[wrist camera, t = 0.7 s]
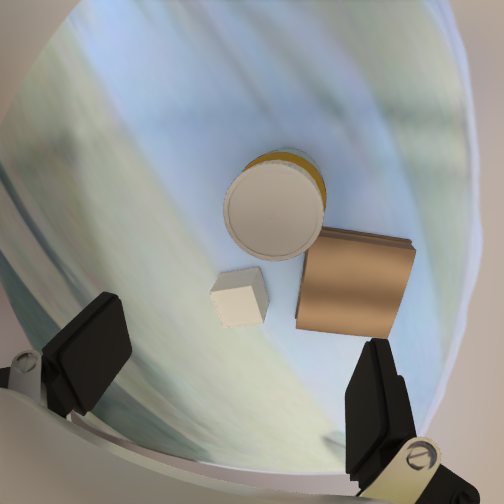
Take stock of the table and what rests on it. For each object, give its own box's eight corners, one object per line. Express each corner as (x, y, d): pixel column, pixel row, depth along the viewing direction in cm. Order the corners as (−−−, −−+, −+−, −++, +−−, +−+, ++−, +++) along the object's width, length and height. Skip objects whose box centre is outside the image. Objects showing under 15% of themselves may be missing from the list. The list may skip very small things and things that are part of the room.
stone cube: (221, 272, 37) (209, 292, 32) (259, 266, 36) (251, 285, 31) (233, 305, 39) (223, 327, 34) (269, 300, 37) (263, 323, 33)
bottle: (332, 190, 30) (351, 233, 17) (280, 221, 33) (257, 285, 19) (297, 136, 29) (288, 132, 15) (245, 170, 31) (194, 198, 18)
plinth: (309, 224, 32) (309, 233, 30) (410, 239, 31) (418, 249, 28) (295, 315, 37) (293, 329, 34) (384, 326, 35) (388, 339, 33)
